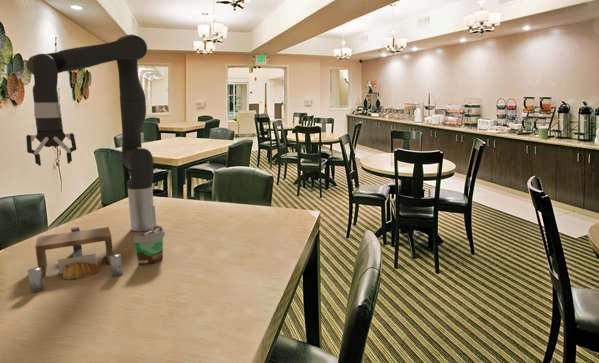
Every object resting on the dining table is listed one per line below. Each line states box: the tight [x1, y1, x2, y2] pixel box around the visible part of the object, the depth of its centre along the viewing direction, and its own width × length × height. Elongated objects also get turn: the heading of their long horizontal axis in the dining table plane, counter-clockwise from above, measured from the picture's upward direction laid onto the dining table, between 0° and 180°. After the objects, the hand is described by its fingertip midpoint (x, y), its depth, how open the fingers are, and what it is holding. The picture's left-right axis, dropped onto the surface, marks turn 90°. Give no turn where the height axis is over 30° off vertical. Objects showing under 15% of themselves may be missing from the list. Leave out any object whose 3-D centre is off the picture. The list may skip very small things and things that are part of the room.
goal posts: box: [27, 253, 123, 293], centre depth 113 cm, size 23×3×6 cm, turn 119°
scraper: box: [57, 226, 97, 275], centre depth 129 cm, size 10×18×9 cm, turn 29°
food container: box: [133, 224, 166, 266], centre depth 129 cm, size 12×6×10 cm, turn 168°
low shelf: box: [34, 226, 114, 278], centre depth 125 cm, size 20×10×10 cm, turn 119°
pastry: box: [62, 262, 99, 281], centre depth 119 cm, size 9×7×4 cm
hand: (54, 164), depth 136 cm, fingers open, 8 cm apart
